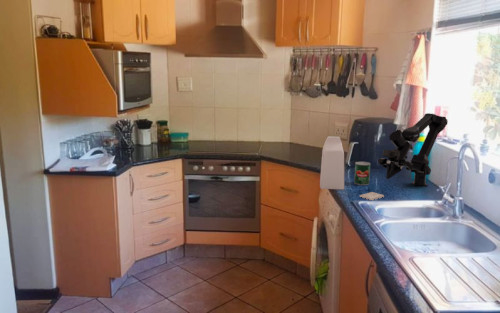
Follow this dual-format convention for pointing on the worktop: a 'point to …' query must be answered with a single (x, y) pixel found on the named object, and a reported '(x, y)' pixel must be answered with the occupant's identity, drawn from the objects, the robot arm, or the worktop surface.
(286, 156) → the worktop surface
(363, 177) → the canned tomato
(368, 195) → the tile
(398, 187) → the worktop surface
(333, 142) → the milk
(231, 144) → the worktop surface
